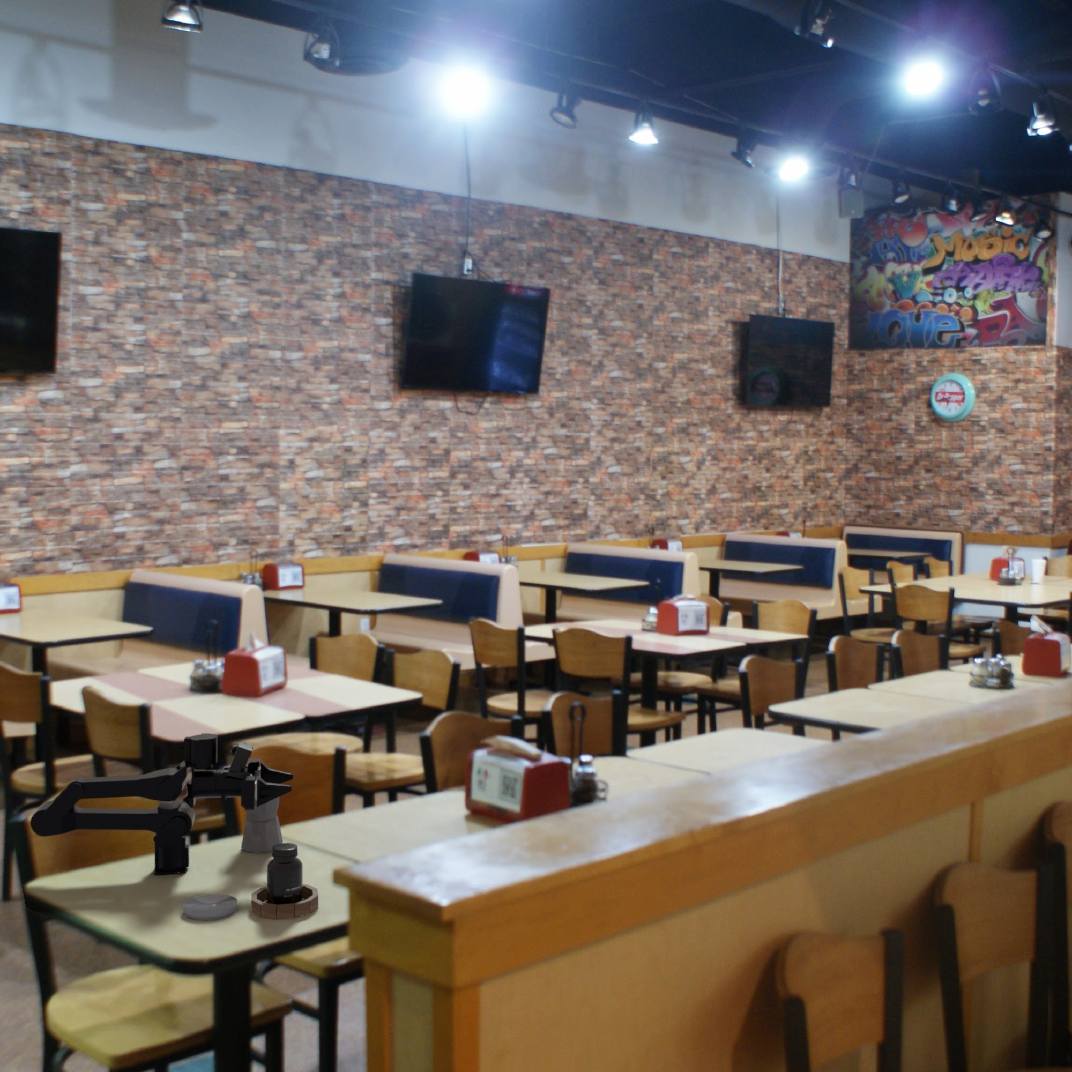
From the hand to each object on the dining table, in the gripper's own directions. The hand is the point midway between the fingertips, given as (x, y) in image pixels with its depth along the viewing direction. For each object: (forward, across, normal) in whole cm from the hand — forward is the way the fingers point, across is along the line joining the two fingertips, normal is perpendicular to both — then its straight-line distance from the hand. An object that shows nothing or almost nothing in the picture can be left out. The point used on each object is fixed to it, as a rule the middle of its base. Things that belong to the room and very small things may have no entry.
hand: (292, 782), depth 266 cm
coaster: (-14, -26, +18) cm, 34 cm away
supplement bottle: (0, -26, +18) cm, 31 cm away
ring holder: (0, -26, +17) cm, 31 cm away
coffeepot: (-7, +14, +18) cm, 24 cm away
